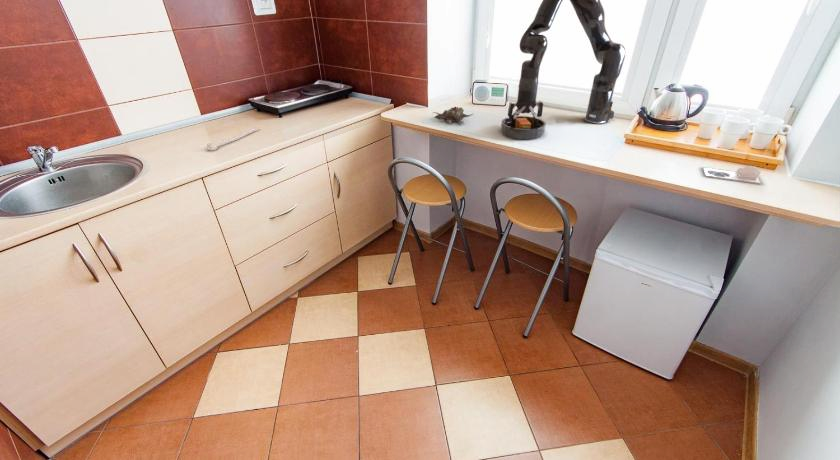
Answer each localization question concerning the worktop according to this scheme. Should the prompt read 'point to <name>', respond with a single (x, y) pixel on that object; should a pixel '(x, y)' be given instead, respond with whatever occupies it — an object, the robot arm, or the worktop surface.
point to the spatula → (213, 145)
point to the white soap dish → (736, 174)
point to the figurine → (452, 115)
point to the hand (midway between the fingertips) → (523, 126)
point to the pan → (523, 133)
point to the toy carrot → (522, 123)
